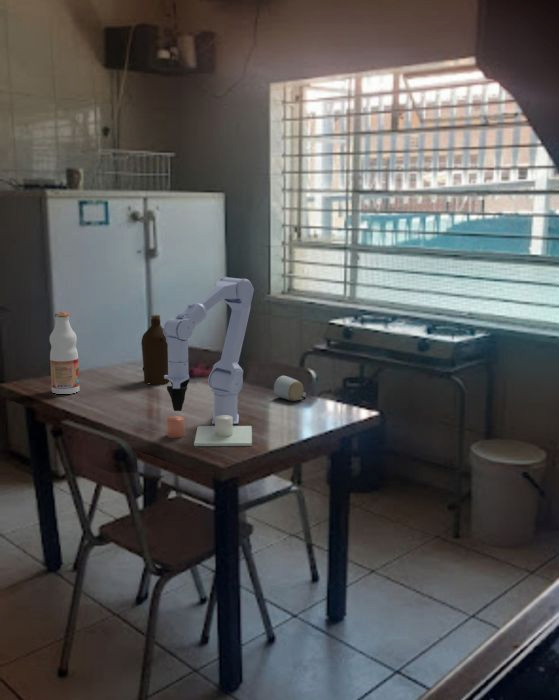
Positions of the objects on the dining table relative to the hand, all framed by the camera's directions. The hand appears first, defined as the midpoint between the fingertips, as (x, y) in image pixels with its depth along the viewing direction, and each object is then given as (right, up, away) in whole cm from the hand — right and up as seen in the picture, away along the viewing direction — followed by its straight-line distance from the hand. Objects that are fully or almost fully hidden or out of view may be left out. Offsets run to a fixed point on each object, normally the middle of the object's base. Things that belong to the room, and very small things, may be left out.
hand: (178, 407), depth 217 cm
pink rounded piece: (-1, -8, +2) cm, 9 cm away
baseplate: (+13, -9, 0) cm, 16 cm away
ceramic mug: (+33, -1, +43) cm, 54 cm away
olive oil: (-17, +4, +64) cm, 66 cm away
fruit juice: (-46, +1, +48) cm, 67 cm away
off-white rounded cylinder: (+13, -8, 0) cm, 15 cm away
